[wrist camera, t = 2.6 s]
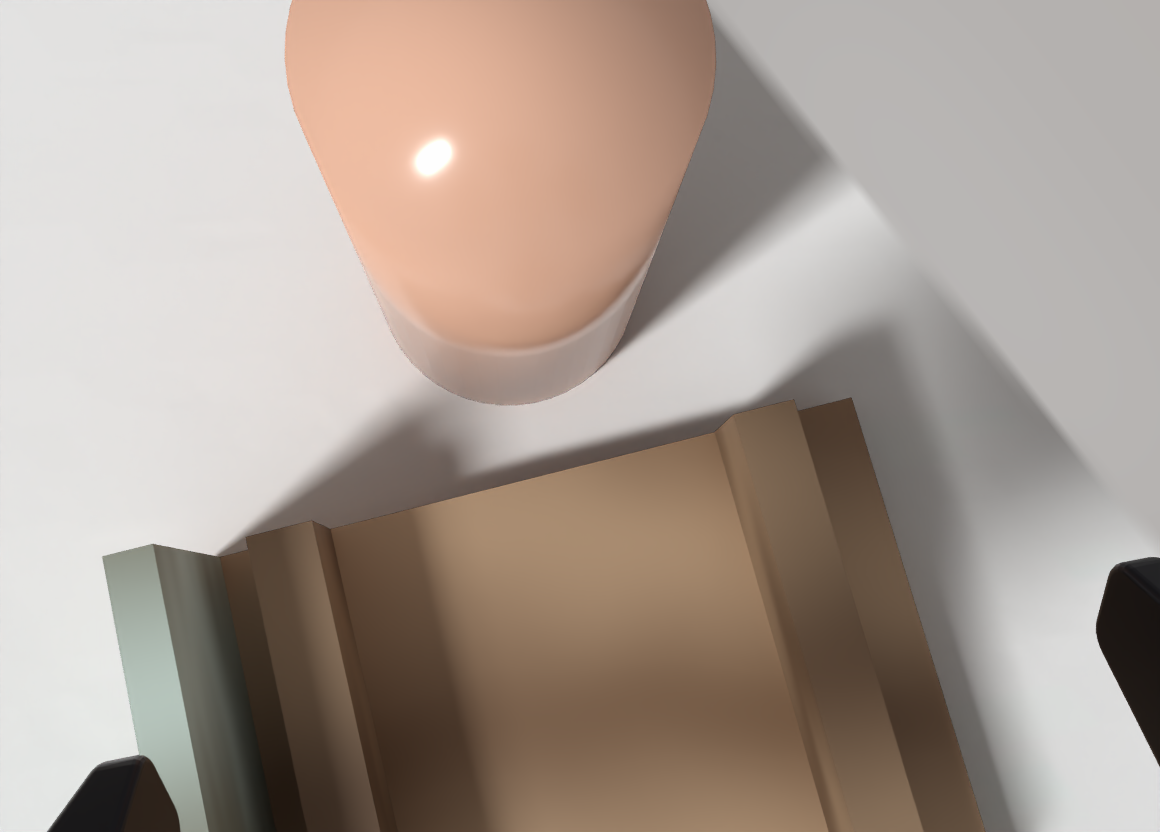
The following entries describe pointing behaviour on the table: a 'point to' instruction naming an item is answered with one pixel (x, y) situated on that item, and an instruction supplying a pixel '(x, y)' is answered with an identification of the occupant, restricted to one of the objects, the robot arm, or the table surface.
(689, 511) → the walnut shelf
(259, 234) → the table surface
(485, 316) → the peach pink cylinder
